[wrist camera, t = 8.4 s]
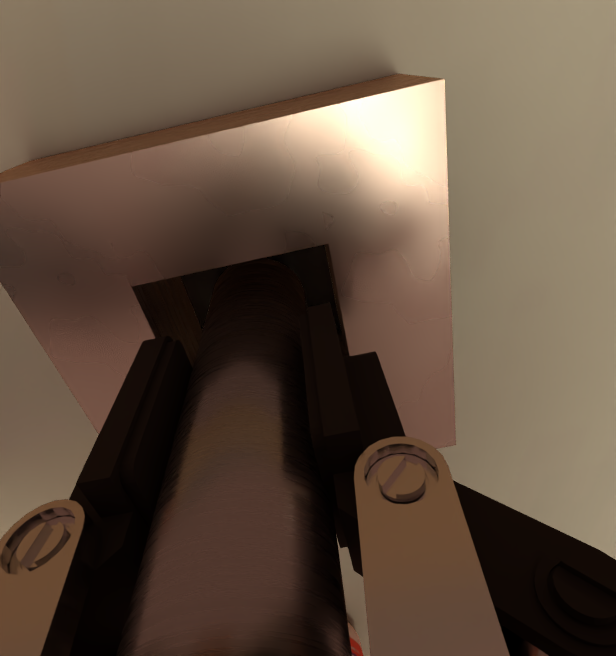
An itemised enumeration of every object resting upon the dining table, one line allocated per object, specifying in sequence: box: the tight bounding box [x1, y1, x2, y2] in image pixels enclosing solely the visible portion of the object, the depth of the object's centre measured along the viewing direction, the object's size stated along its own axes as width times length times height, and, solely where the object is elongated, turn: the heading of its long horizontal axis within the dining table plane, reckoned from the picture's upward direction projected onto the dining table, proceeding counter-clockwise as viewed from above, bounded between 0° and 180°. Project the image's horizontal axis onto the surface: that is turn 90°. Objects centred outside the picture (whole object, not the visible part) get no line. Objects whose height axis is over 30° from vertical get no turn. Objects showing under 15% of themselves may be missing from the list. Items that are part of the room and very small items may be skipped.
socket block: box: [0, 74, 456, 449], centre depth 13 cm, size 10×10×4 cm
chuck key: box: [116, 258, 352, 656], centre depth 8 cm, size 3×6×12 cm, turn 11°
